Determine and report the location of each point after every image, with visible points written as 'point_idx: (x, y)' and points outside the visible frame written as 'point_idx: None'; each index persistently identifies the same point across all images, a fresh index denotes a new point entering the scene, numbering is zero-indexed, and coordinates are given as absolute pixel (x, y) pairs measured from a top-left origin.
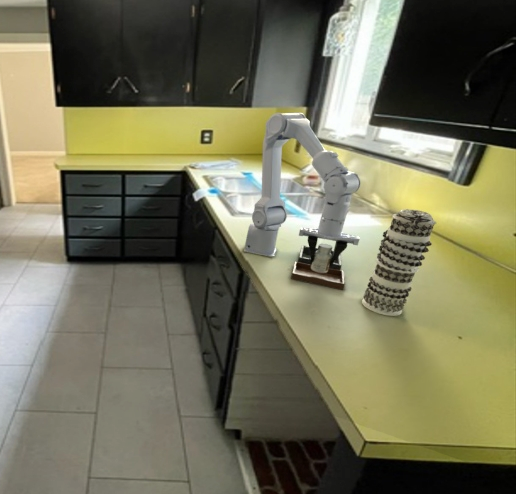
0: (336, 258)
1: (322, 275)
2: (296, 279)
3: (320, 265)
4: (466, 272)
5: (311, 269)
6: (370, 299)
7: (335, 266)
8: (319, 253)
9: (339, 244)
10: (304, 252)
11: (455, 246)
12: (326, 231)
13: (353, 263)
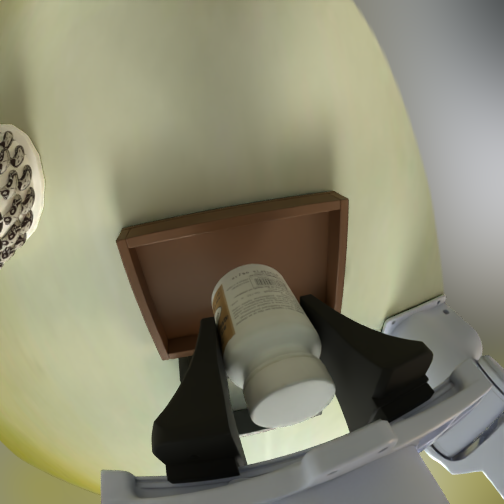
0: (193, 354)
1: None
2: (314, 194)
3: (257, 286)
4: (31, 448)
5: None
6: (2, 142)
7: None
8: (302, 341)
9: (212, 446)
10: None
11: (92, 491)
12: (398, 491)
13: None
